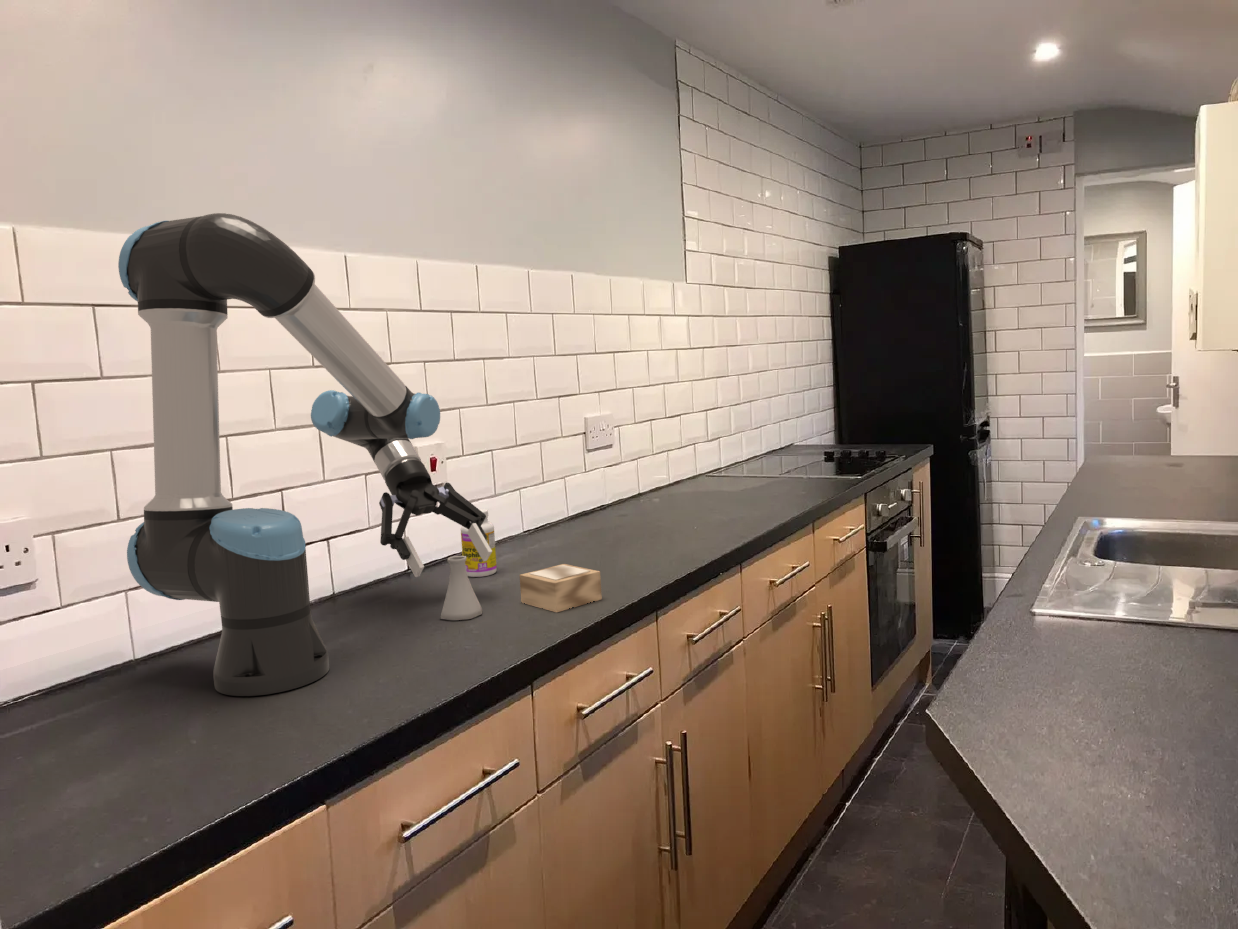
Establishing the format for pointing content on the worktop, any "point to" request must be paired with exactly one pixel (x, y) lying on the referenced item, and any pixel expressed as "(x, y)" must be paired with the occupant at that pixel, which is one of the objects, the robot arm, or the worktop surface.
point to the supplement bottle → (473, 559)
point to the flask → (460, 593)
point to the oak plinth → (560, 587)
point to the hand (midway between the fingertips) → (454, 564)
